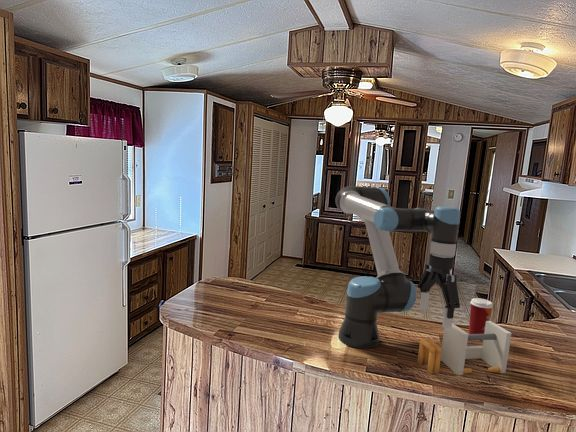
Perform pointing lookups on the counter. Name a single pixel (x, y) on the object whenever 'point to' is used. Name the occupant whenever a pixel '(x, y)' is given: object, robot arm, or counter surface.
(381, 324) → the counter surface
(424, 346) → the cord hank
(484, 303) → the coffee cup
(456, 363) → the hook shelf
